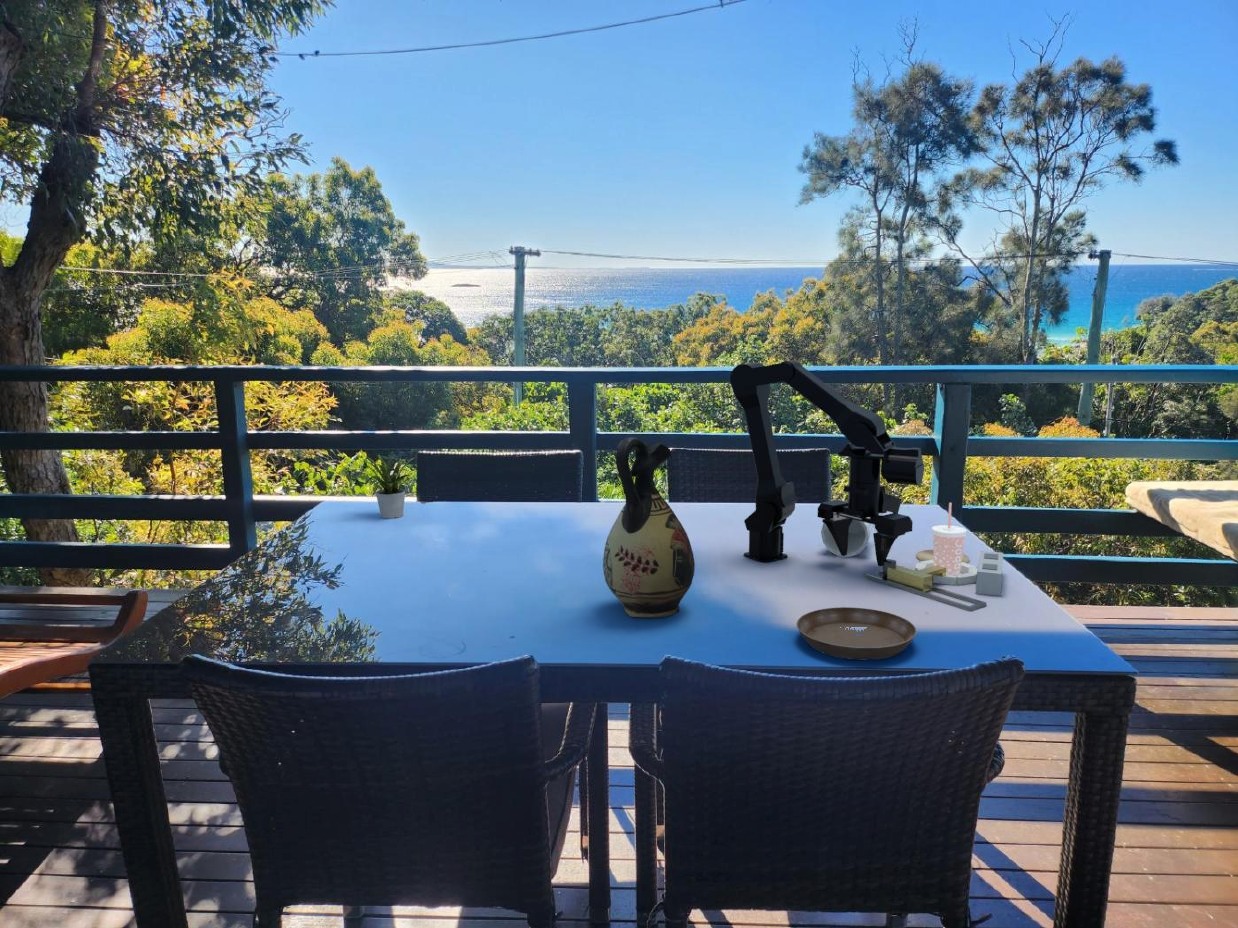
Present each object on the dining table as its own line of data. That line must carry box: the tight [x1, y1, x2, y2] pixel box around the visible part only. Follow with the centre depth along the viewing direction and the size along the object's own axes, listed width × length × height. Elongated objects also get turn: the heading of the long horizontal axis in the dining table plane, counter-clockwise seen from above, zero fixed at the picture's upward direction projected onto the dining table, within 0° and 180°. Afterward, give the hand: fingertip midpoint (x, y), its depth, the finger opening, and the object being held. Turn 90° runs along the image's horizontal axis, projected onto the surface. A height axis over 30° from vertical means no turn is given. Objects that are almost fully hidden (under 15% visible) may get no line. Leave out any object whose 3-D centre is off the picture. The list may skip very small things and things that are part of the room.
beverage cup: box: [931, 502, 967, 575], centre depth 169 cm, size 6×6×14 cm
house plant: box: [360, 452, 417, 519], centre depth 221 cm, size 14×14×16 cm
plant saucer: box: [796, 606, 917, 660], centre depth 138 cm, size 18×18×3 cm
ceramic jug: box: [602, 436, 696, 618], centre depth 151 cm, size 17×15×30 cm
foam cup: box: [820, 517, 871, 558], centre depth 188 cm, size 10×9×13 cm
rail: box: [864, 569, 987, 612], centre depth 161 cm, size 4×23×1 cm, turn 33°
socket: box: [914, 550, 1004, 597], centre depth 167 cm, size 15×14×4 cm
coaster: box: [915, 549, 970, 564], centre depth 181 cm, size 10×10×1 cm
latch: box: [881, 558, 946, 592], centre depth 166 cm, size 8×10×3 cm
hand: (861, 560), depth 173 cm, fingers open, 9 cm apart
